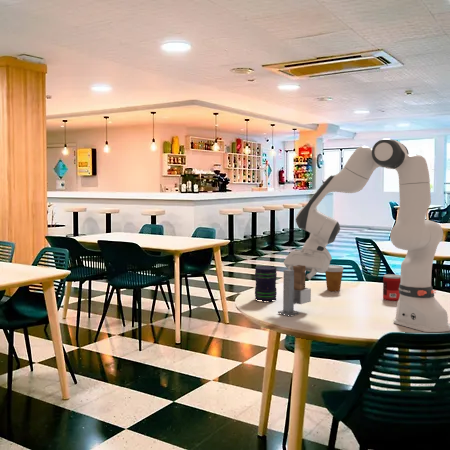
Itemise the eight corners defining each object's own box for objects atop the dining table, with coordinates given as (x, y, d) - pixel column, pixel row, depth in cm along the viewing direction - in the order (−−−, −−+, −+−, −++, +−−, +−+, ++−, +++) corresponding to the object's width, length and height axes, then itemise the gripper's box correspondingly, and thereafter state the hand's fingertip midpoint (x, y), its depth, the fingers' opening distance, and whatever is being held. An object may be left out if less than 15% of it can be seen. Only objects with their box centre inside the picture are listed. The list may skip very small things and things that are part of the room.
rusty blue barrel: (258, 302, 231) (258, 269, 230) (252, 298, 241) (252, 266, 239) (279, 301, 233) (279, 268, 232) (272, 297, 243) (272, 265, 242)
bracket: (296, 308, 221) (297, 266, 220) (310, 311, 216) (311, 268, 215) (277, 313, 211) (277, 270, 210) (290, 316, 206) (291, 272, 205)
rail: (298, 297, 218) (298, 264, 217) (305, 299, 216) (305, 265, 214) (292, 299, 216) (293, 265, 214) (299, 300, 213) (300, 266, 212)
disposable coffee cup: (345, 289, 260) (346, 265, 259) (339, 292, 252) (340, 268, 251) (327, 287, 265) (328, 264, 264) (321, 290, 257) (321, 266, 256)
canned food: (404, 299, 237) (405, 276, 236) (392, 301, 233) (393, 277, 232) (391, 296, 244) (391, 273, 243) (379, 298, 240) (379, 275, 239)
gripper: (289, 244, 226) (275, 269, 220) (329, 248, 212) (315, 275, 206) (295, 253, 230) (281, 278, 223) (335, 258, 215) (321, 285, 209)
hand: (298, 277), depth 214 cm, fingers open, 8 cm apart
